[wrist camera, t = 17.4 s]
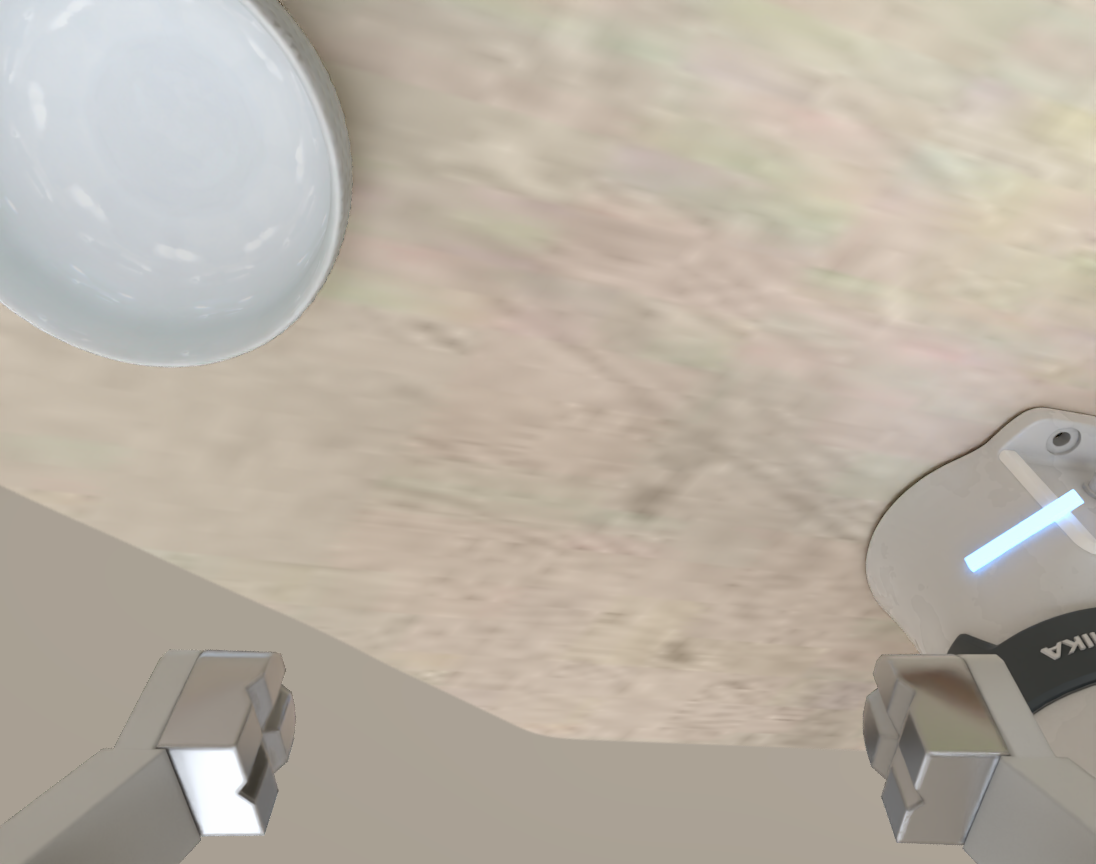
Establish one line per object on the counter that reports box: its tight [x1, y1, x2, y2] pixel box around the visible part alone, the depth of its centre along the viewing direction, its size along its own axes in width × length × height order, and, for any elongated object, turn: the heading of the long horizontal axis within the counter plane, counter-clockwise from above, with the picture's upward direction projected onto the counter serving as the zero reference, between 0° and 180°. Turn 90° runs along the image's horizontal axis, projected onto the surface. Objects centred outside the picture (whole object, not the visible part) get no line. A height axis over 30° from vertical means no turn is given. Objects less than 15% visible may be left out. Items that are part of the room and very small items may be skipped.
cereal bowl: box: [0, 0, 353, 367], centre depth 36 cm, size 17×17×7 cm
